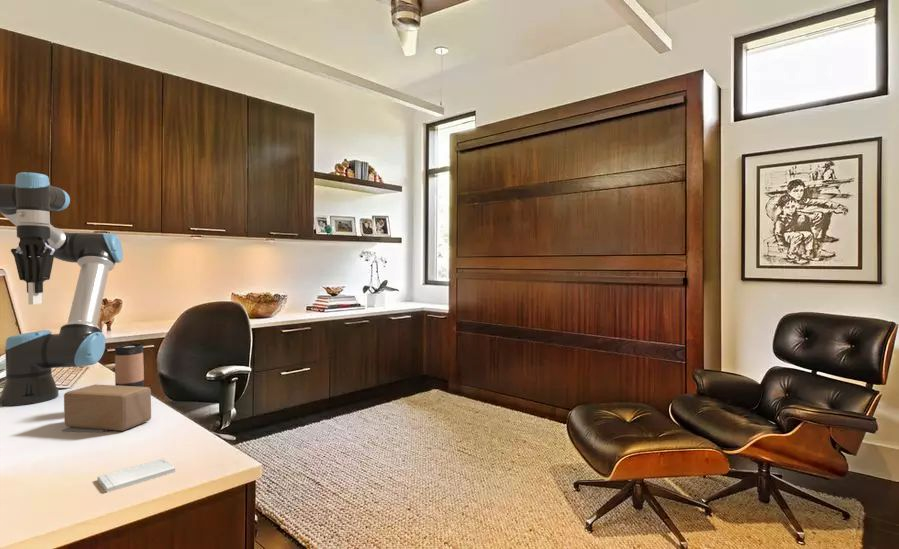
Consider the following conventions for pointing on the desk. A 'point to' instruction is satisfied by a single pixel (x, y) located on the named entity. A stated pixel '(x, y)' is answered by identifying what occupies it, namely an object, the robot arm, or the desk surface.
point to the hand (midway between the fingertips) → (35, 304)
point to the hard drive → (135, 475)
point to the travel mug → (129, 365)
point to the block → (107, 407)
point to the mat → (84, 429)
